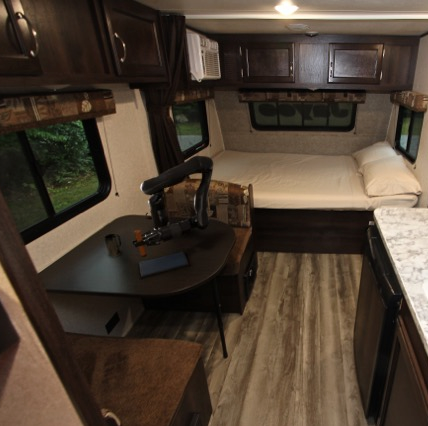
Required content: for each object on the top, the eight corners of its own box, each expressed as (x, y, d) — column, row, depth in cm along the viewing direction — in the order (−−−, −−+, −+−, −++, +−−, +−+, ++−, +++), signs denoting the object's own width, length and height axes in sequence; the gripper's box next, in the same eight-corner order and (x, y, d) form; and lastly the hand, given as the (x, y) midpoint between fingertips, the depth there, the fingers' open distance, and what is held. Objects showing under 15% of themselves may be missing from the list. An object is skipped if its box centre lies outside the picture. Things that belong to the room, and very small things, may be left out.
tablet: (139, 263, 151) (139, 261, 151) (184, 252, 161) (183, 250, 161) (141, 278, 140) (140, 276, 140) (188, 265, 150) (188, 263, 150)
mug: (106, 256, 157) (100, 236, 152) (113, 250, 162) (107, 231, 157) (120, 257, 156) (114, 237, 151) (127, 251, 161) (121, 232, 156)
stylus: (141, 255, 144) (134, 230, 138) (146, 254, 145) (140, 229, 139) (141, 257, 142) (134, 232, 136) (146, 256, 144) (140, 231, 138)
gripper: (163, 221, 152) (127, 232, 141) (174, 230, 144) (136, 243, 133) (165, 233, 156) (130, 245, 145) (177, 243, 147) (140, 256, 136)
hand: (133, 244), depth 139 cm, fingers closed on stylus, 2 cm apart
